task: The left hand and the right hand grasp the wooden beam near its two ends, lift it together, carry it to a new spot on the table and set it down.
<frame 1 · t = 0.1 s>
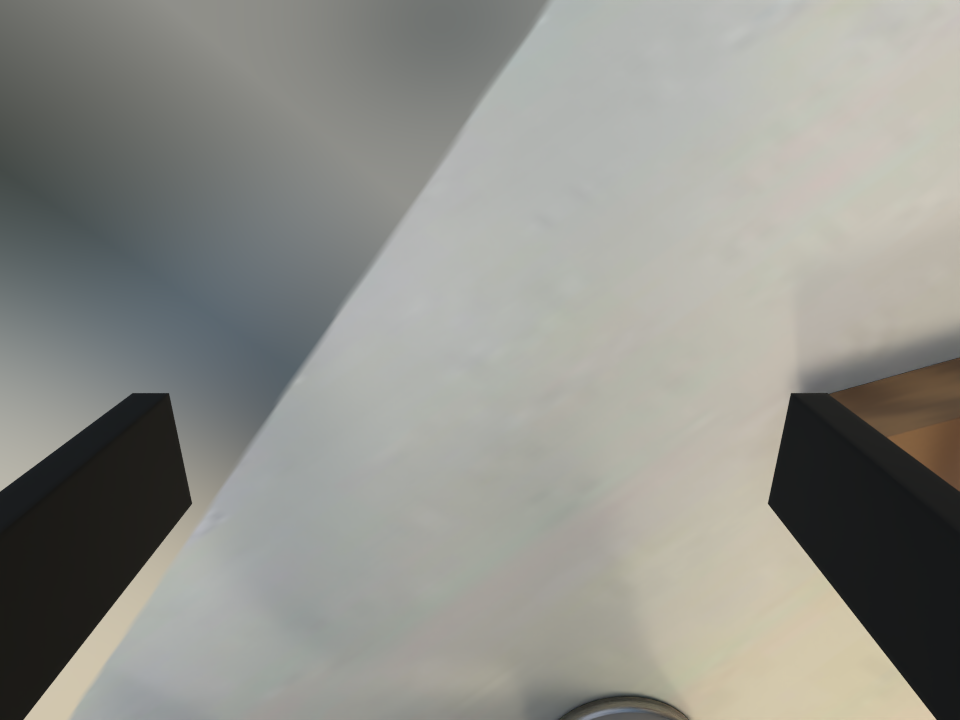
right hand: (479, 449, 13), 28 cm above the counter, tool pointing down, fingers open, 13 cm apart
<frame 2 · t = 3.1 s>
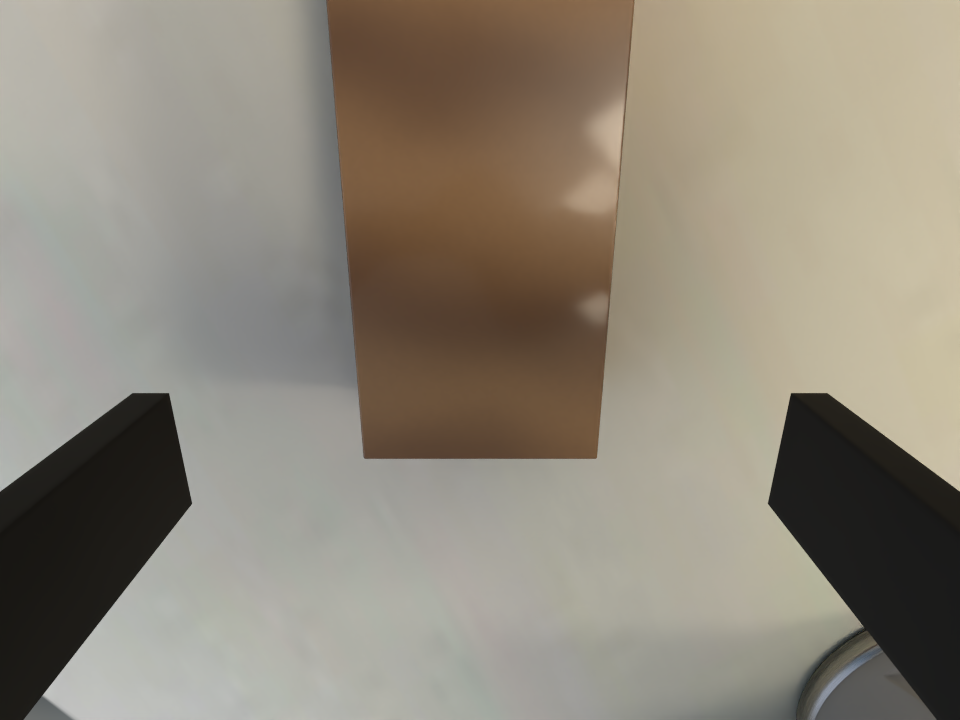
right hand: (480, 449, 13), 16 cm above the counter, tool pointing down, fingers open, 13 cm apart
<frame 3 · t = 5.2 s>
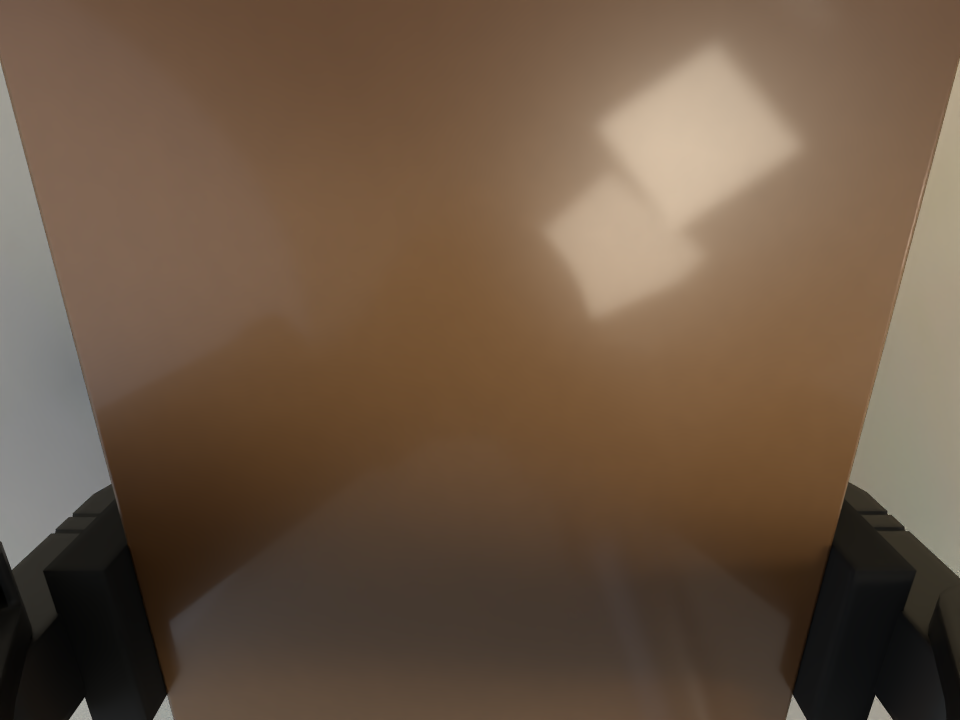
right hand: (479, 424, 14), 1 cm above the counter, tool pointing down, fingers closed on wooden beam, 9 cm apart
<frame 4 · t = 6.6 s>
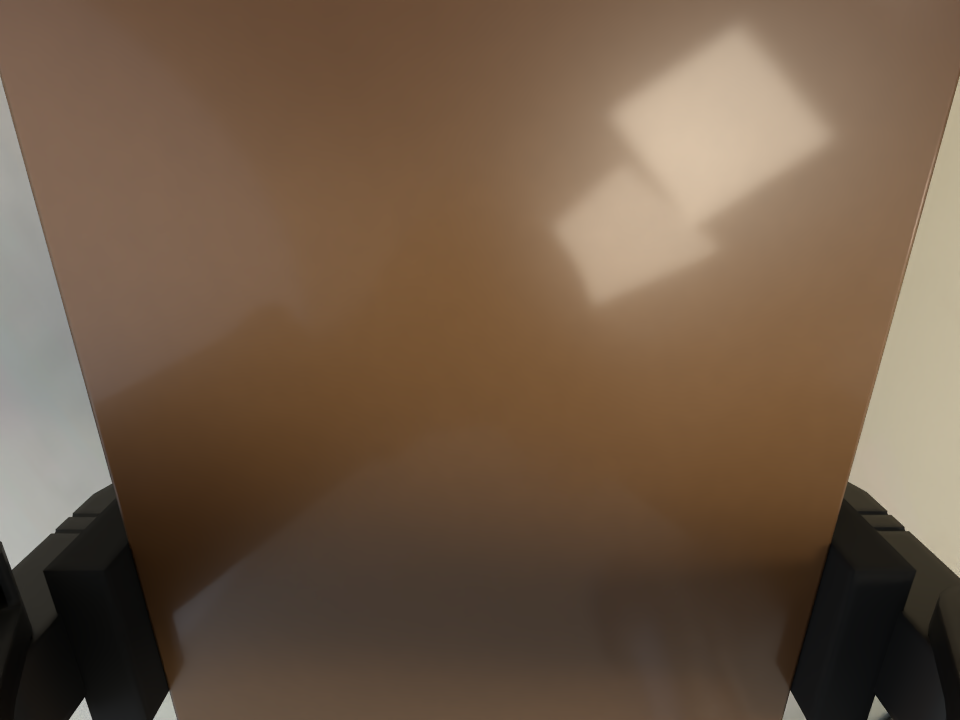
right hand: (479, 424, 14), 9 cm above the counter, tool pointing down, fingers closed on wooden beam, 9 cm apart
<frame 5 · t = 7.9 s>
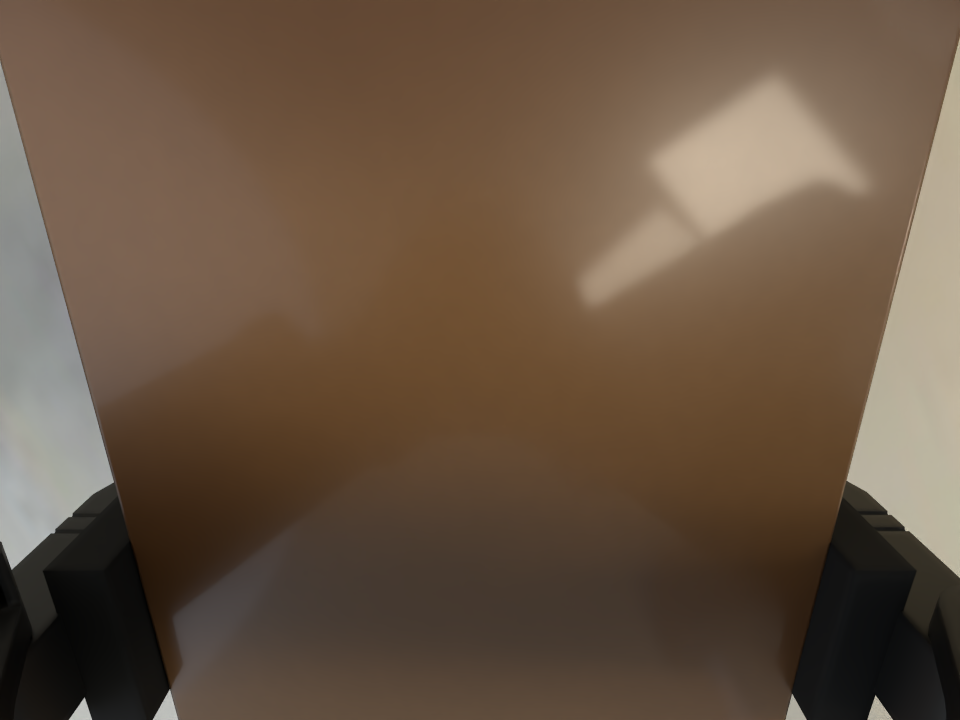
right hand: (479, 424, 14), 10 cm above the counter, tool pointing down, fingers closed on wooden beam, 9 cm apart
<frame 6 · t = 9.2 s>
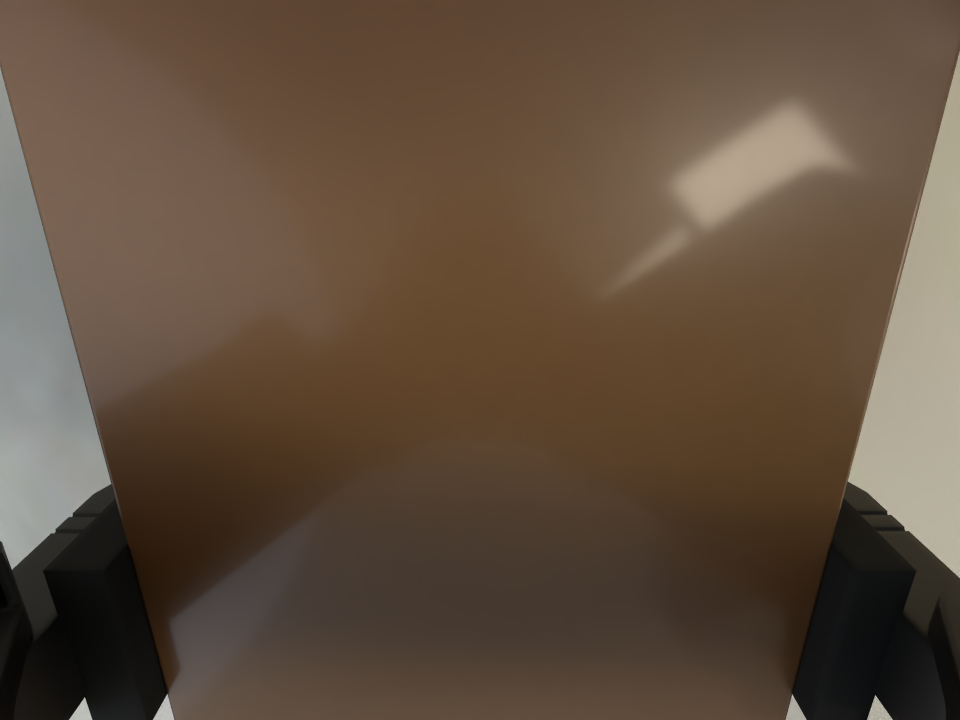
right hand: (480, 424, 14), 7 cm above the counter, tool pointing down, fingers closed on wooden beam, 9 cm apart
when the right hand's fingers open (2 cm above the counter, at t = 10.4 s): wooden beam stays where it is, on the counter.
when the left hand's fingers open (2 cm above the counter, at t = 10.5 s): wooden beam stays where it is, on the counter.
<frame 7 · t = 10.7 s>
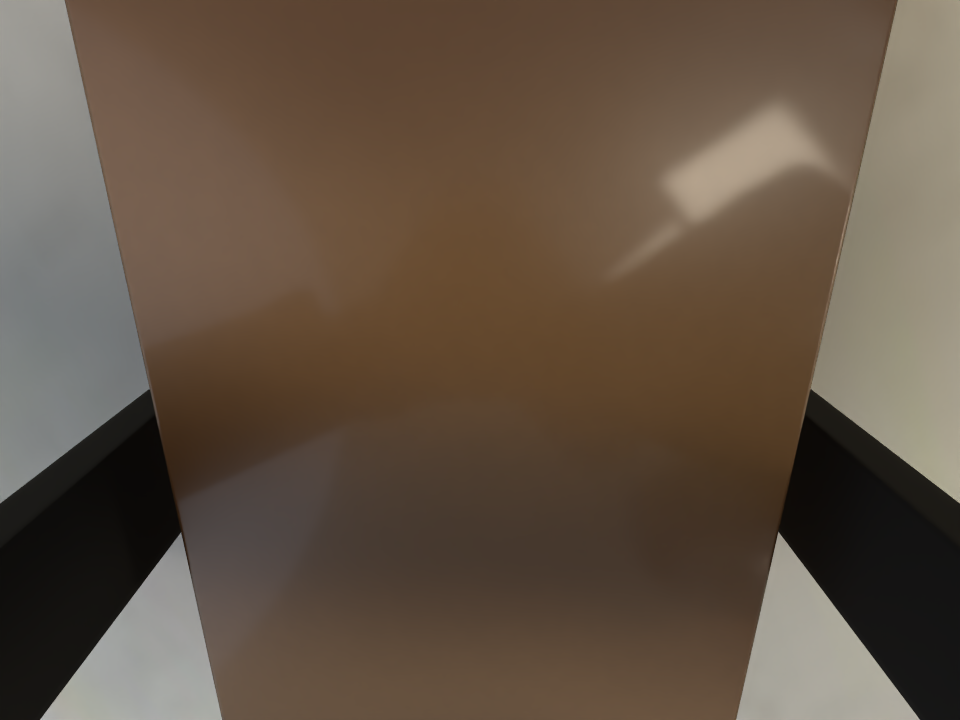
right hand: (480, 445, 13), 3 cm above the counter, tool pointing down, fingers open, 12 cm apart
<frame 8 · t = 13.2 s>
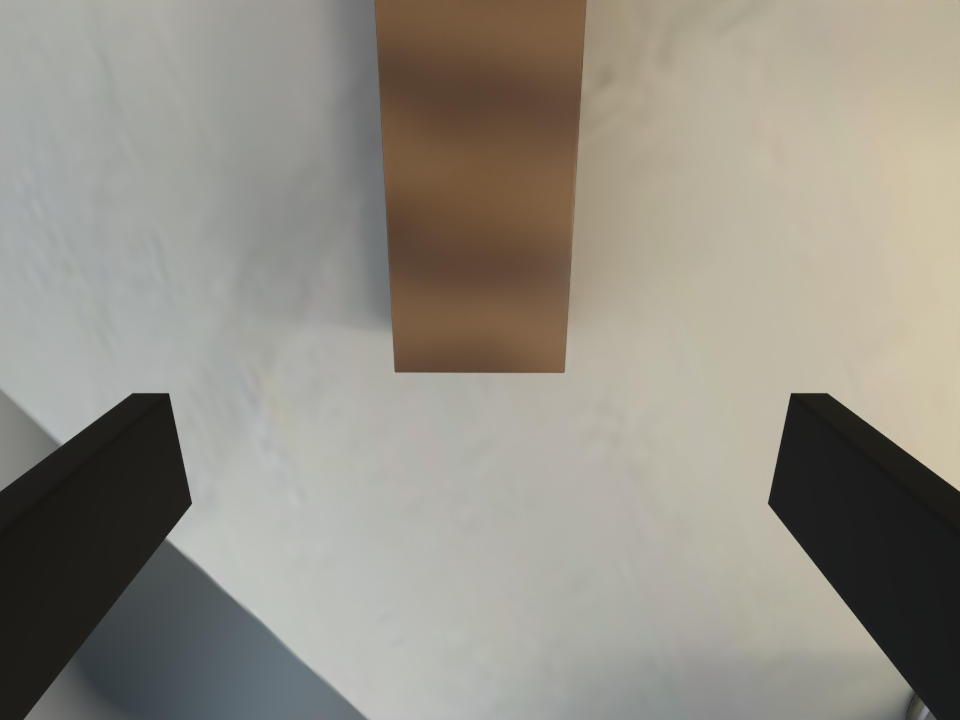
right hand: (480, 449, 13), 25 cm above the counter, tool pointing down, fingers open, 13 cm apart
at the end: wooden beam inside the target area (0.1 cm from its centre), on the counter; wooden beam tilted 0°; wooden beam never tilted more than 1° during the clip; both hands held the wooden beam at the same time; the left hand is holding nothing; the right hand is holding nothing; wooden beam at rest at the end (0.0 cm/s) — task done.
